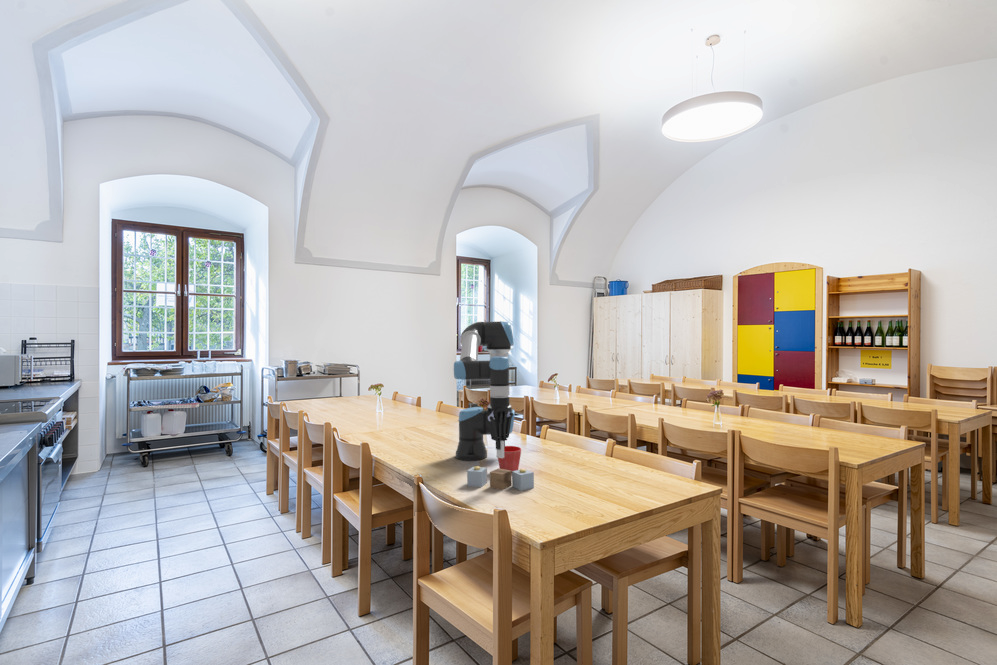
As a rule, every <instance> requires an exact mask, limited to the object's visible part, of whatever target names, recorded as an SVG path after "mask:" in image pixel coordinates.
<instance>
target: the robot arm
mask: <svg viewBox="0 0 997 665" xmlns="http://www.w3.org/2000/svg"><path fill="white" fill-rule="evenodd" d="M512 329H513V328H512V325H511V323H510V322H509V321H501V320H500V321H477V322H474V323H471V324H470V325H468V326H467V327H465V329H463V331H462V333H461V334H460V339H459V340H460V345H461V348H460V349H461V350H460V357H459V358H460V359H459V360H456V361H454V362H453V376H454V379H455V380H462V381H465V380H489V396H490V397H489V404H488V405H487V410H485V409H484V408H483V407H482V406H474V407H467V408H464V409H461V410H460V411H459V413H458V444H457V448H456V451H455V458H456V459H457V460H460V461H480V460H483V459H486V458H487V457H488V450H487V448H486V444H485V442H484V435H485V436H490V437H491V438H490V439H491V440H492V441H495V450H496V458H497V459H498V458H504V448H505V446H506V441H508V439H509V437H510V434H512V433H513V429H514V423H515V409H513V408H512V405H511V404H510V397H509V396H510V362H509V360H510V359H509V355H508V354H509V352H510V351H511V350H512V346H514V344H515V343H514V335H513V334H514V333H513V330H512ZM479 347H486V351H487V352H489V360H478V359H479Z"/></svg>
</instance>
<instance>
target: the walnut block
mask: <svg viewBox="0 0 997 665" xmlns="http://www.w3.org/2000/svg"><path fill="white" fill-rule="evenodd" d="M510 487H512V473H511V470H505V469H500V468H497V469H494V470H491V471H490V472H489V488H493V489H495V490H496V489H497V490H502V491H503V490H506V489H507V488H510Z"/></svg>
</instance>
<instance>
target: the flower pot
mask: <svg viewBox="0 0 997 665" xmlns="http://www.w3.org/2000/svg"><path fill="white" fill-rule="evenodd" d="M521 456H522V448H521V447H519V446H515V445H514V446H513V445H505V448H504V458H498V457H497V461H498V466H499V469H505V470H511V474H512V471H516V470H519V467H520V462H521Z"/></svg>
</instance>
